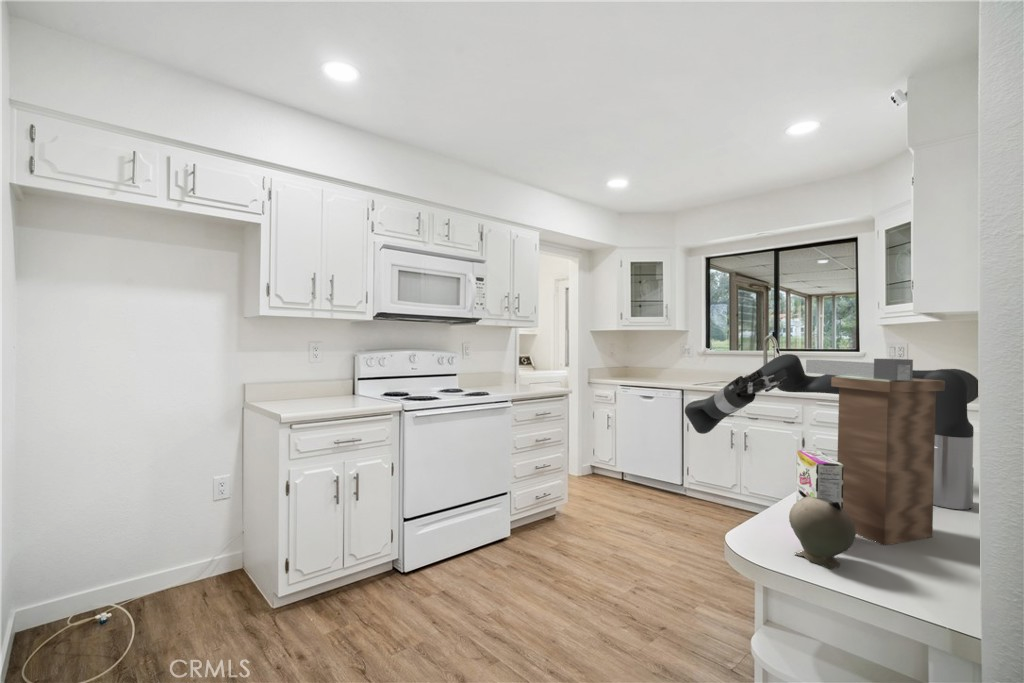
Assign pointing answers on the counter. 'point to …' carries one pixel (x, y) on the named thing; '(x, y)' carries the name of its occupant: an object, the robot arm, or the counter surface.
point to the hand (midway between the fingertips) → (773, 372)
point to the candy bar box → (819, 476)
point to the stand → (887, 455)
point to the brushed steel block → (864, 368)
